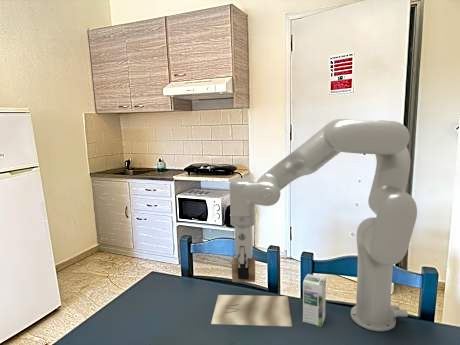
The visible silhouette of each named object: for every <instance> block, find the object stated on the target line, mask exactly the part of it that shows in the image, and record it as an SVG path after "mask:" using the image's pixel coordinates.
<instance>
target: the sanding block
mask: <svg viewBox="0 0 460 345" xmlns="http://www.w3.org/2000/svg"><path fill="white" fill-rule="evenodd" d="M244 261H245V262H246V259H244ZM248 268H249V279H238V258H236V256H232V261H231V280H232V283H256V257H255V256H252V258H251V259H250V258H248Z"/></svg>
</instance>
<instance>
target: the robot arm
mask: <svg viewBox="0 0 460 345" xmlns="http://www.w3.org/2000/svg"><path fill="white" fill-rule="evenodd" d="M410 137H411V135H410V132H409V130H408V128H407V126H405V125H404V124H403V123H401V122H399V121H394V120H360V119H359V120H357V119H346V118H337V119H334V120H331V121H330V122H328V123H327V124H326V125H324V126H323V127H321V129H319V130H318V131H317V132H316V133H315V134H313V135H311V137H309V138H308V139H307V140H306V141H304V143H302V144H301V145H300V146H298V147H297V148H296V149H294V150H293V151H292V152H290V153H289V154H288V155H287V156H285V157H284V158H283V159H281V160H280V161H278V162H277V163H275V165H274V166H272V167H271V168H270V169H269V170H267V171H266V172H264V174H262V175H261V176H260V177H259V178H258V179H257V181H253V180H252V179H250V178H243V177H242V178H241V177H240V178H239V177H238V178H235V179H231V181H230V182H229V209H230V211H229V212H230V226H232V227H234V246H235V247H234V249H235V257H236V258H238V279H249V268H248V258H250V259H251V258H252V257H253V249H254V246H253V244H254V243H253V226H255V225H256V205H257V206H264V207H269V206H274V205H276V204H277V203H278V202H279V200H280V197H281V191H282V190H284V188H285V187H287V186H288V185H289V184H290V183H292V182H294V181H295V180H297V179H299V178H301V177H303V176H308V175H312V174H314V173H315V172H317V171H318V170H320V169H321V168H322V167H324V166H325V164H327V163H328V162H330V161H331V160H332V159H334V158H335V157H336V156H338V155H339V154H341V153H347V154H361V155H362V154H363V155H364V154H365V155H374V156H375V158H376V160H375V161H376V163H375V164H376V166H375V172H374V176H373V180H372V185H371V187H370V188H371V189H370V192H369V195H368V199H367V202H368V207H369V209H370V210H371V211H372V212H373V214H375V215H376V216H375V217H368V218H365V219H363V220H362V221H361V222H360V223H359V224H358V227H357V230H356V247H357V249H356V250H357V270H356V271H357V273H356V274H357V275H356V276H357V277H356V301H355V302H356V304H355V305H354V306H353V307H351V310H350V317H351V320H352V321H353V322H354V323H356V324H357V325H358V326H360V327H362V328H364V329H366V330H368V331H369V330H370V331H373V332H386V331H390V330H393V329H394V328H395V327H396V323H397V322H396V318H398V317H404V318H405V317H408V314H409V313H408V311H407V309H400V306H399V305H392V304H391V302H392V290H393V289H392V288H393V285H392V284H393V274H394V273H393V271H394V270H393V269H394V268H393V267H394V265H396V264H398V263H400V262H401V261H402V260H403V259H404V257H405V256H406V254H407V252H408V249H409V246H410V242H411V239H412V236H413V231H414V230H415V225H416V221H417V218H418V206H417V203H416V201H415V200H414V197H413V196H411V195H410V194H409V193H408V192H407V191H406V189H407V186H408V181H409V177H410V172H411V156H410V155H411V154H410V151H409V149H408V145H409V143H410V139H411V138H410ZM244 259H246V262H245V261H244Z"/></svg>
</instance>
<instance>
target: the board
mask: <svg viewBox="0 0 460 345" xmlns="http://www.w3.org/2000/svg"><path fill="white" fill-rule="evenodd" d="M210 324H211V325H231V326H232V325H234V326H260V327H261V326H262V327H263V326H265V327H267V326H268V327H293V324H292V316H291V310H290V303H289V296H287V295H286V296H285V295H282V296H281V295H249V294H248V295H244V294H243V295H241V294H240V295H239V294H238V295H237V294H218V295H217V299H216V302H215V306H214V310H213V315H212V319H211V323H210Z"/></svg>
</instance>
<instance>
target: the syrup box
mask: <svg viewBox="0 0 460 345" xmlns="http://www.w3.org/2000/svg"><path fill="white" fill-rule="evenodd" d="M326 286H327V278H326V277H325V276H319V275H315V274H310V273H307V275H305V277H304V279H303V282H302V323H305V324H309V325H313V326H317V327H320V328H321V327H323V324H324V321H325V320H326V303H327V302H326V301H327V300H326V297H327V296H326V294H327V293H326V292H327V291H326V290H327V289H326V288H327V287H326Z"/></svg>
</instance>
